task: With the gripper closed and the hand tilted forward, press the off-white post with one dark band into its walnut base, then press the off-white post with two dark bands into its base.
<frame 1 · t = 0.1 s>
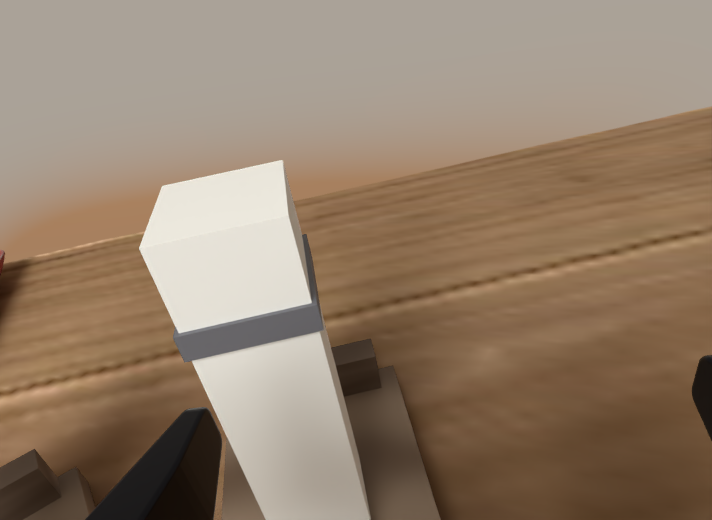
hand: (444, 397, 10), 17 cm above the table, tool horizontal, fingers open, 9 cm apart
base one: (327, 489, 27), on the table
post one: (283, 385, 20), point 10 cm above the table, slide at 0.0 cm
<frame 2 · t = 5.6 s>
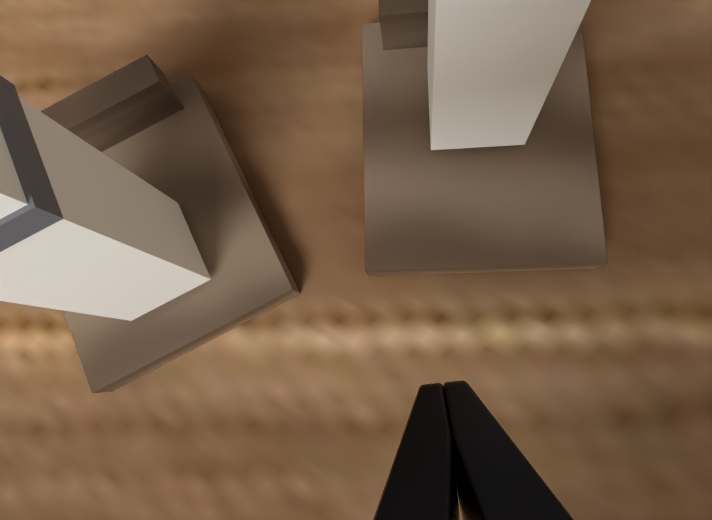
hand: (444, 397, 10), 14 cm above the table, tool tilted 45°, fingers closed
base two: (159, 233, 26), on the table
base one: (472, 147, 25), on the table
post two: (23, 209, 16), point 10 cm above the table, slide at 0.0 cm
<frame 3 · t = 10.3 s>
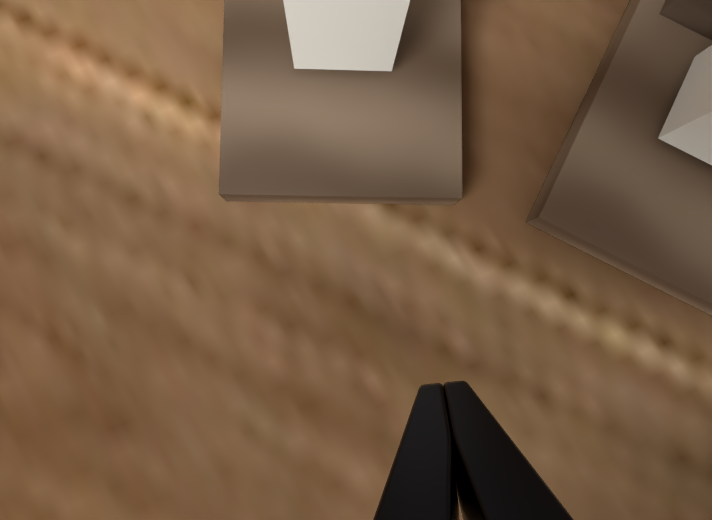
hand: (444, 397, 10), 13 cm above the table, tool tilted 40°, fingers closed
base two: (342, 70, 23), on the table
base one: (678, 155, 24), on the table
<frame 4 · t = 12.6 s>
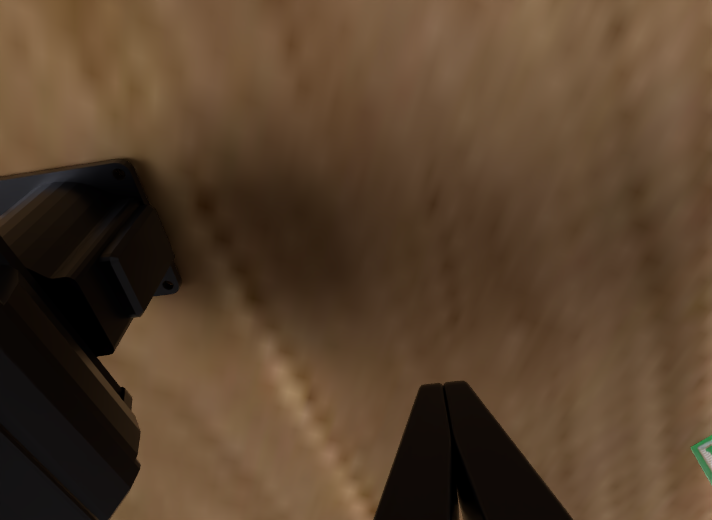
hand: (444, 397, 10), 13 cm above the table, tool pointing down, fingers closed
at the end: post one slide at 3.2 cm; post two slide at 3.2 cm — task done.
